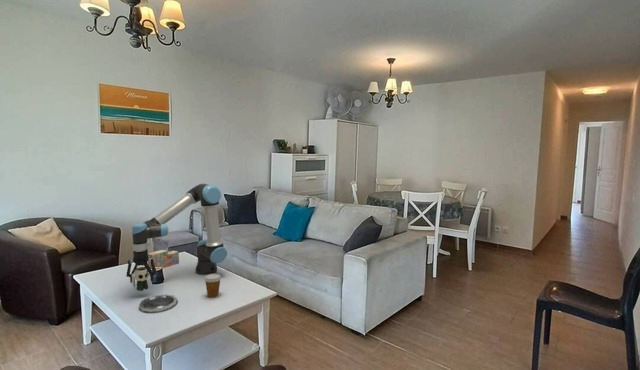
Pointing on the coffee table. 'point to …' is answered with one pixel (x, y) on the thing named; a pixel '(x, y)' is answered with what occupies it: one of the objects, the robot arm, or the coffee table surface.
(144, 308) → the silver metal tray
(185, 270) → the coffee table surface
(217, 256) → the robot arm
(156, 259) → the stack of blocks
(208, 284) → the disposable coffee cup
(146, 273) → the character mug
